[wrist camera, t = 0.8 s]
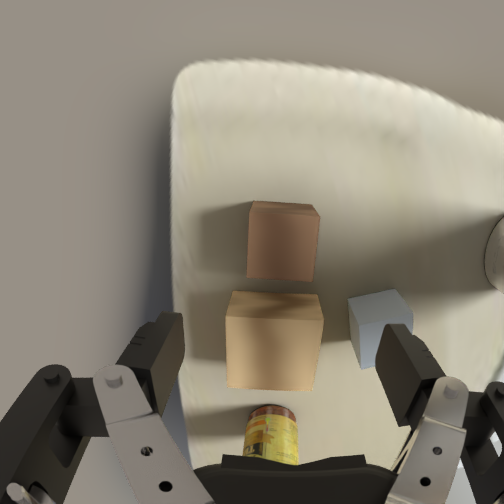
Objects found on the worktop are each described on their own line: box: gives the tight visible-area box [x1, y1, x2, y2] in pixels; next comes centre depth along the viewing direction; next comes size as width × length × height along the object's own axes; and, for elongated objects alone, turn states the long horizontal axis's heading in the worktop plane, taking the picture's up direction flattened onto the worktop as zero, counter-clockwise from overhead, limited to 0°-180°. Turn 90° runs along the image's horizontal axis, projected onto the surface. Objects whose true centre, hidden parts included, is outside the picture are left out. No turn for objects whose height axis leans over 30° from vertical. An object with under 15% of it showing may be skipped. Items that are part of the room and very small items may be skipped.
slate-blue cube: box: [347, 288, 413, 369], centre depth 27 cm, size 5×5×5 cm
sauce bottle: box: [243, 405, 298, 465], centre depth 25 cm, size 6×6×20 cm
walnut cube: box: [246, 201, 320, 282], centre depth 25 cm, size 5×5×5 cm
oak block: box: [225, 291, 324, 391], centre depth 28 cm, size 8×8×5 cm
